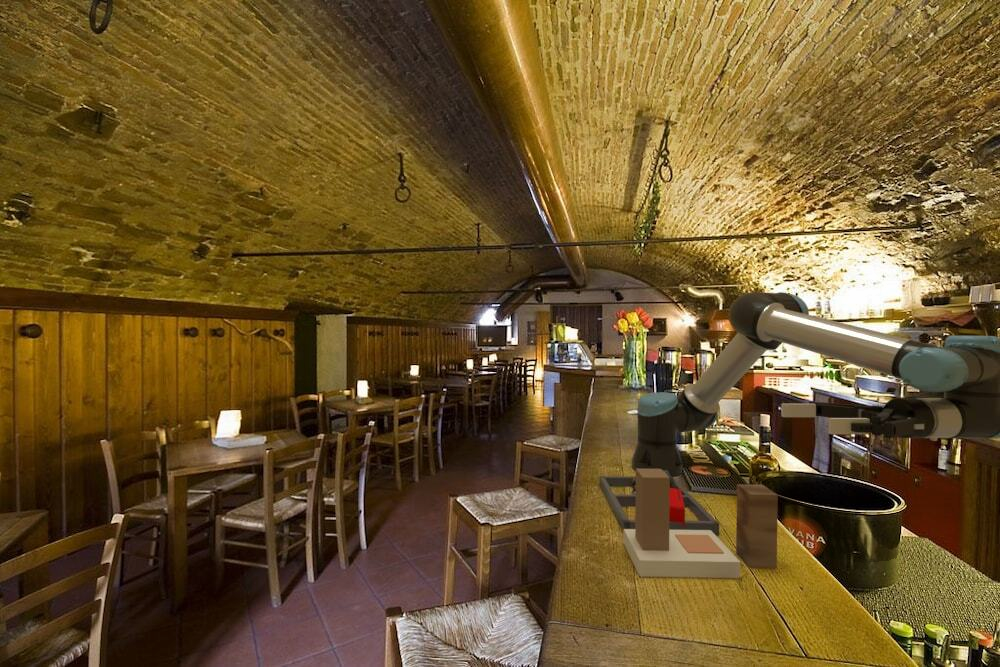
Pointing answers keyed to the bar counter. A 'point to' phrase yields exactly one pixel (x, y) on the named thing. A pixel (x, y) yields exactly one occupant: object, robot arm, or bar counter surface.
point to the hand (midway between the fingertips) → (803, 417)
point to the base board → (671, 538)
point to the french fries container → (676, 506)
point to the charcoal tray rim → (630, 500)
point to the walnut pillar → (757, 526)
